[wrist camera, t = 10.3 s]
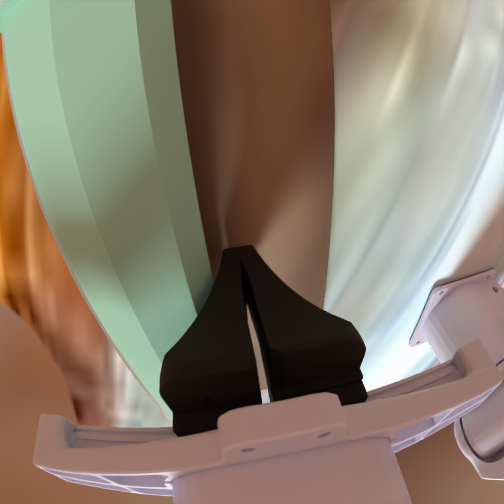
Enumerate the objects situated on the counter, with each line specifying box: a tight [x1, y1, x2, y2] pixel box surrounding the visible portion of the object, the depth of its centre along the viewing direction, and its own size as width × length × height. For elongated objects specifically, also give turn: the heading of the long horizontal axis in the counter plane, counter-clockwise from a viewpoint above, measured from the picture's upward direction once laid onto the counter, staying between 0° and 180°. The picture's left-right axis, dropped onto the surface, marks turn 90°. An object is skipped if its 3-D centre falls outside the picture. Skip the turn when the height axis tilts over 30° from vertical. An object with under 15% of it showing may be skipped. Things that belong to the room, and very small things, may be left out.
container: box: [0, 0, 214, 421], centre depth 12 cm, size 6×6×25 cm
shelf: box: [2, 0, 335, 421], centre depth 14 cm, size 12×28×4 cm, turn 5°
